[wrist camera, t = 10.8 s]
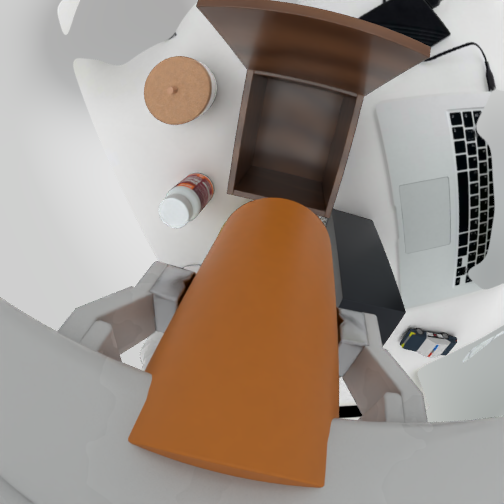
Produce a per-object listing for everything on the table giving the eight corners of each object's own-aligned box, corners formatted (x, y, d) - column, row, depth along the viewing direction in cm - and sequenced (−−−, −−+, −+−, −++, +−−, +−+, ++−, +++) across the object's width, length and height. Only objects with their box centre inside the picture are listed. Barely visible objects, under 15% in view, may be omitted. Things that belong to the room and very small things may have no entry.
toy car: (408, 325, 60) (412, 341, 56) (455, 334, 59) (460, 348, 55) (398, 339, 62) (402, 355, 58) (444, 346, 61) (449, 360, 57)
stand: (357, 256, 53) (375, 355, 33) (318, 246, 54) (318, 345, 33) (372, 220, 49) (406, 312, 29) (331, 208, 49) (342, 298, 29)
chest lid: (430, 57, 11) (431, 46, 10) (195, 6, 12) (198, -4, 11) (364, 96, 27) (366, 90, 27) (246, 69, 28) (247, 63, 27)
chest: (324, 186, 47) (329, 218, 36) (247, 167, 48) (226, 193, 37) (348, 93, 38) (364, 93, 27) (264, 73, 39) (247, 66, 28)
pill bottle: (207, 167, 49) (182, 189, 40) (219, 198, 52) (198, 226, 43) (178, 178, 51) (149, 200, 42) (190, 207, 54) (165, 235, 45)
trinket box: (171, 124, 46) (144, 133, 38) (161, 68, 41) (132, 67, 33) (229, 113, 44) (211, 119, 36) (220, 54, 38) (200, 46, 30)
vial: (312, 302, 14) (293, 509, 6) (215, 278, 14) (132, 470, 6) (346, 214, 11) (381, 479, 3) (228, 185, 12) (77, 408, 3)
